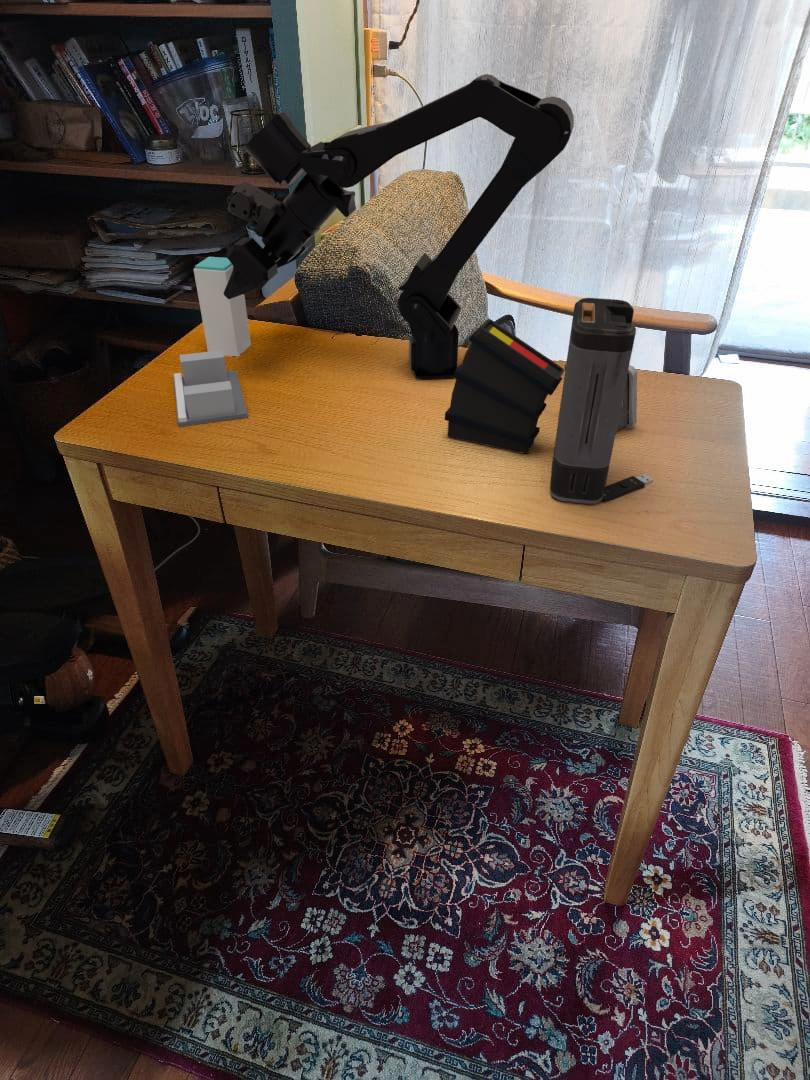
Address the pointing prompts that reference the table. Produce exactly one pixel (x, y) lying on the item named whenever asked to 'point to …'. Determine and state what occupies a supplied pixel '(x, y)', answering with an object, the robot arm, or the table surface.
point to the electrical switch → (628, 401)
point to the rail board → (207, 390)
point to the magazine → (500, 390)
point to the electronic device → (591, 398)
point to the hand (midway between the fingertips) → (239, 285)
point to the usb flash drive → (625, 487)
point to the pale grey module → (221, 308)
